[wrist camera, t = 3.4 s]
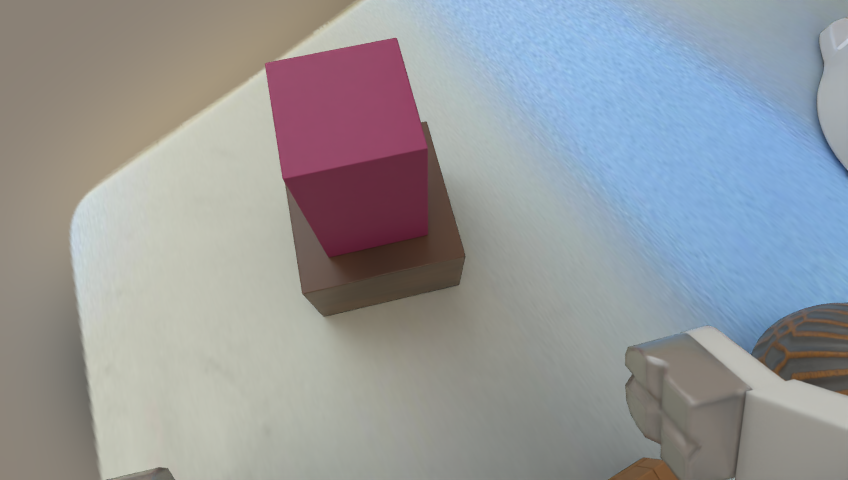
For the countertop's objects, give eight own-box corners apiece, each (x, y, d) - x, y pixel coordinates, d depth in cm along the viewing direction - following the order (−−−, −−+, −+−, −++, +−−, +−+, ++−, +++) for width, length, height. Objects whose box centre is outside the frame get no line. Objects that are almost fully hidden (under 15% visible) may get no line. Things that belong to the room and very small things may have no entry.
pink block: (405, 150, 26) (396, 37, 18) (428, 235, 24) (428, 148, 17) (312, 169, 25) (264, 62, 18) (328, 257, 24) (282, 179, 16)
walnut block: (426, 167, 31) (426, 121, 27) (459, 284, 28) (465, 256, 24) (302, 193, 31) (280, 151, 26) (323, 316, 28) (302, 294, 23)
